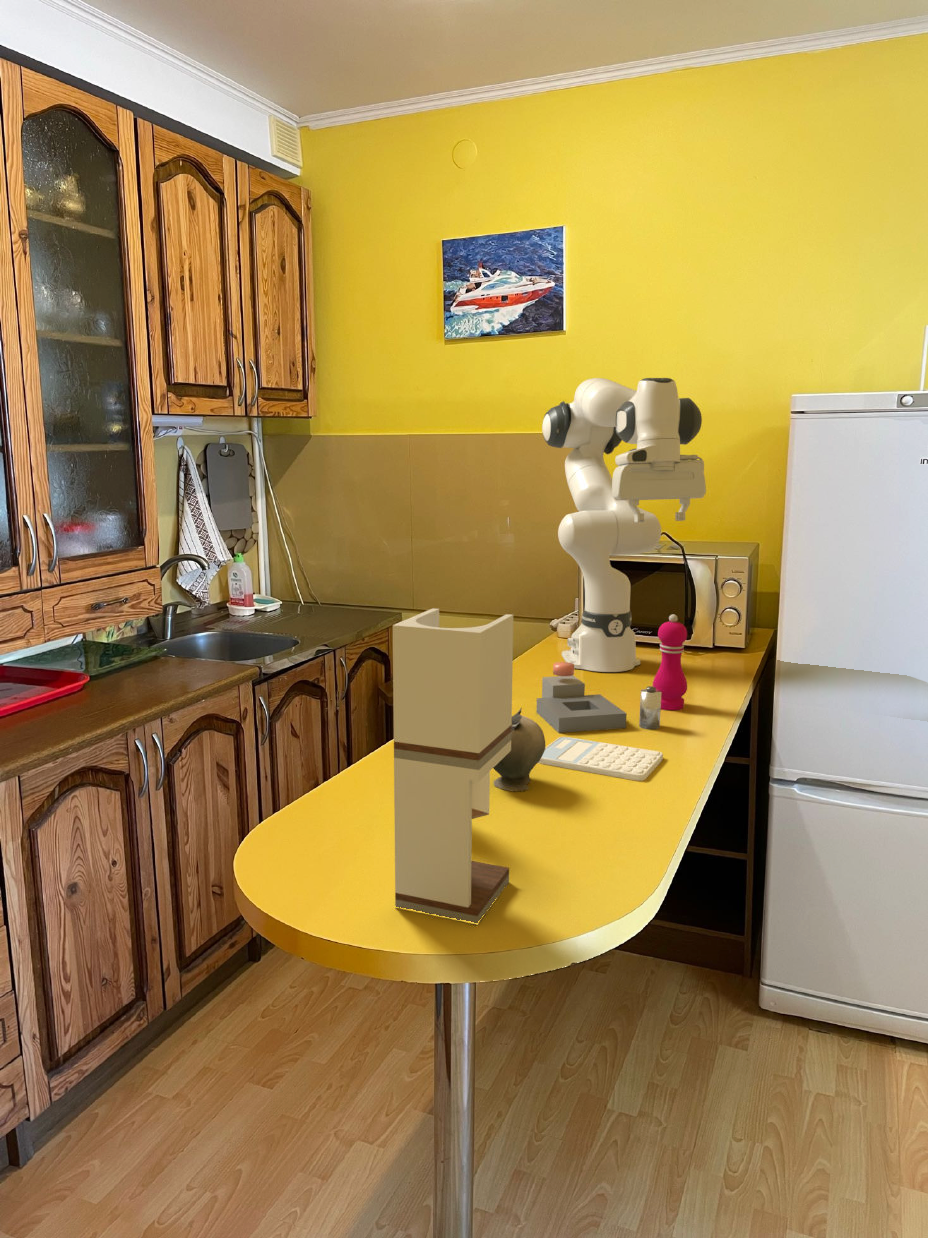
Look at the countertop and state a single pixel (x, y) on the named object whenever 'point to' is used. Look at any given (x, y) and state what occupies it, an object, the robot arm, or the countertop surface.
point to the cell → (650, 708)
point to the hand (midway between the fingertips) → (659, 521)
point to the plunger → (563, 669)
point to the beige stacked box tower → (447, 759)
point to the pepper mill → (671, 665)
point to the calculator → (601, 758)
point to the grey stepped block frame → (576, 707)
